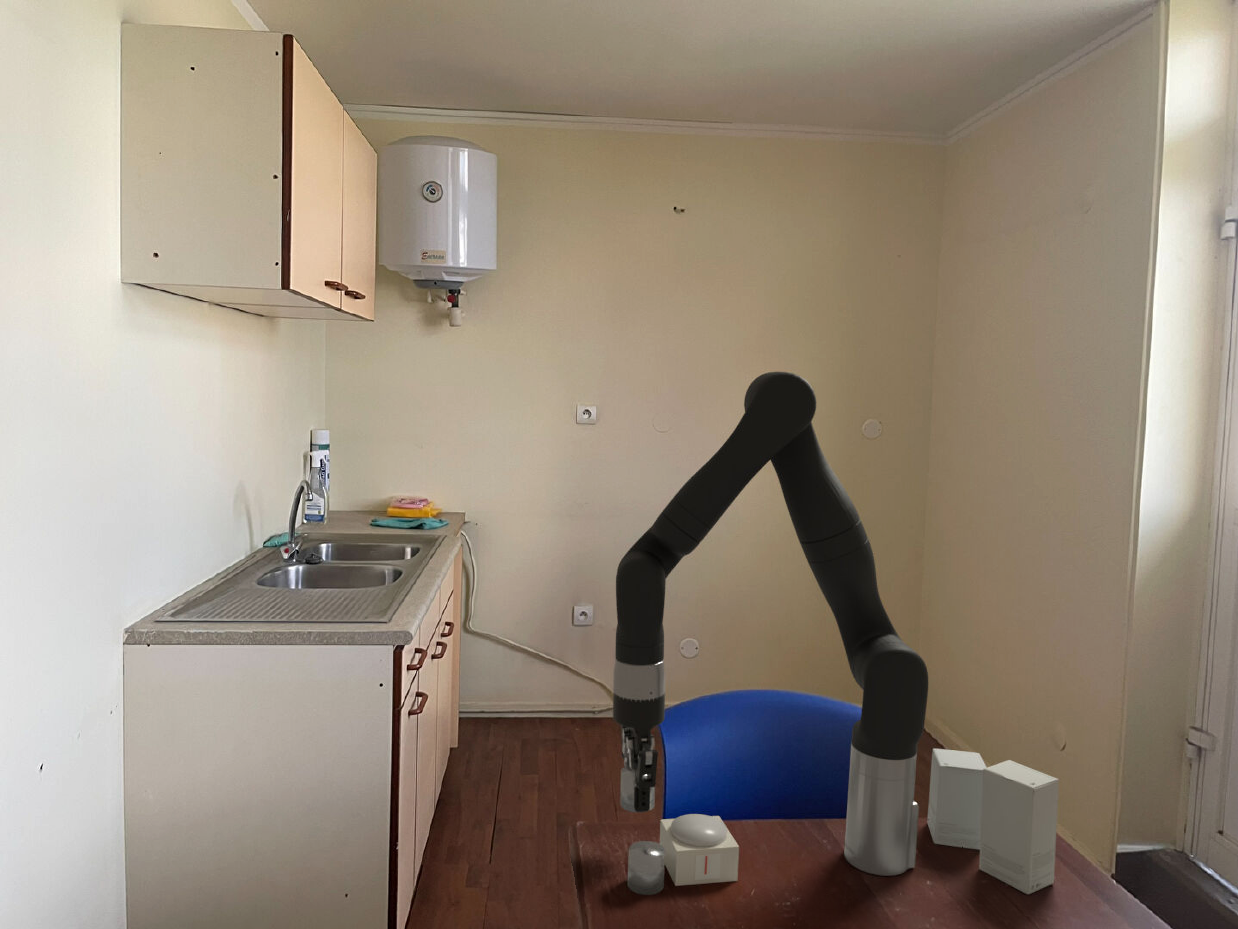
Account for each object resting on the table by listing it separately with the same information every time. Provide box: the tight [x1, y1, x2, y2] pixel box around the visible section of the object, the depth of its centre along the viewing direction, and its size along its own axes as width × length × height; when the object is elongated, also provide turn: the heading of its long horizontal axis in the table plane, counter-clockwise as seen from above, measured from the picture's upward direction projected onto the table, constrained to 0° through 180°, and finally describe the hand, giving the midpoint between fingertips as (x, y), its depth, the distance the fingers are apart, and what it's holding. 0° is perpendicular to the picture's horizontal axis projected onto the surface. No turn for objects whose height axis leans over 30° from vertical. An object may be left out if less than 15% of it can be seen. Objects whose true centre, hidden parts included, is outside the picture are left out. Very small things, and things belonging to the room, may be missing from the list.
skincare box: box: [978, 759, 1060, 895], centre depth 128 cm, size 8×7×16 cm
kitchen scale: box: [659, 813, 740, 887], centre depth 128 cm, size 9×9×6 cm
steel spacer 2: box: [627, 840, 666, 896], centre depth 123 cm, size 5×5×5 cm
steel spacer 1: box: [620, 765, 656, 813], centre depth 131 cm, size 5×5×5 cm
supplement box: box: [926, 748, 987, 851], centre depth 140 cm, size 7×7×13 cm
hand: (637, 800), depth 131 cm, fingers closed on steel spacer 1, 5 cm apart
